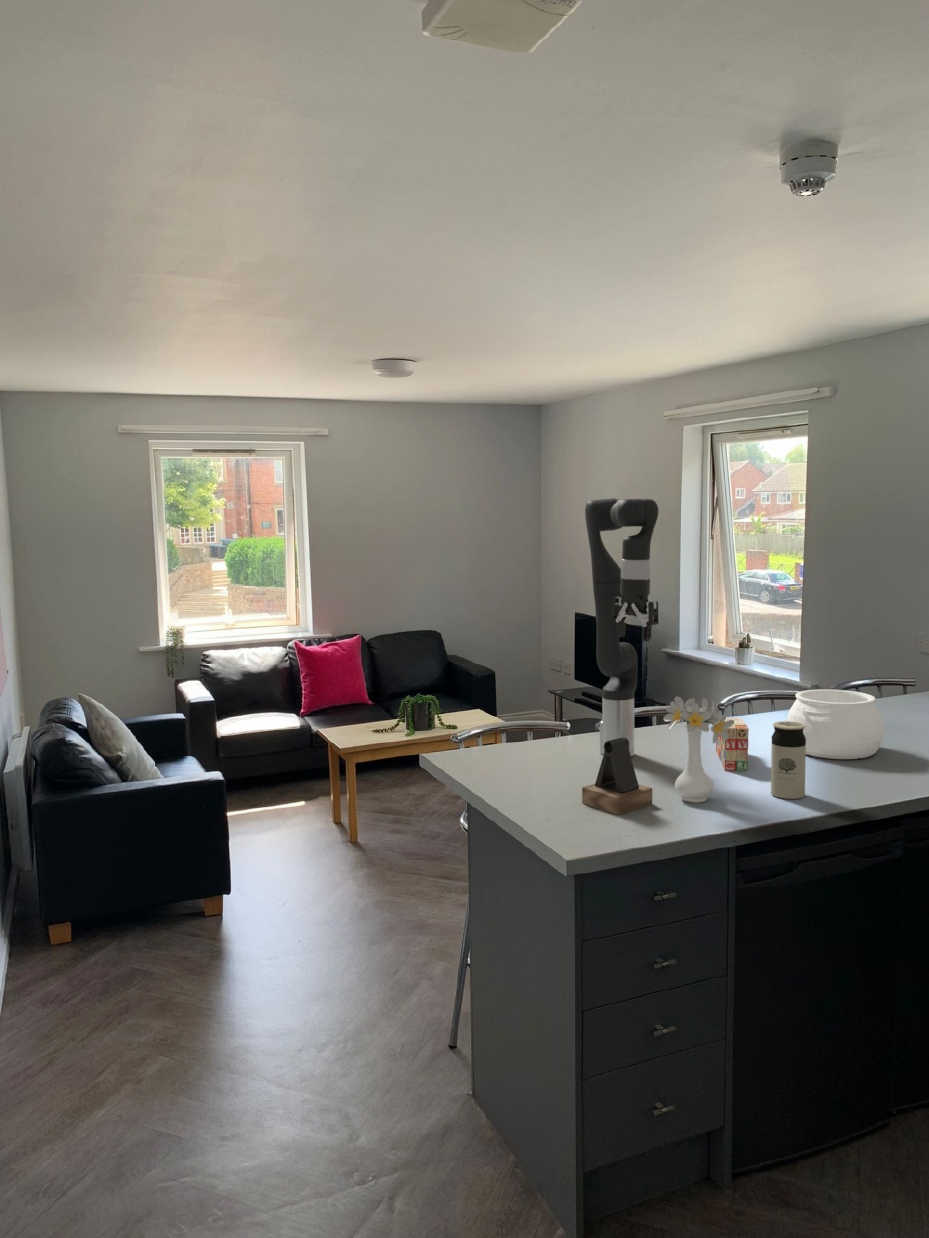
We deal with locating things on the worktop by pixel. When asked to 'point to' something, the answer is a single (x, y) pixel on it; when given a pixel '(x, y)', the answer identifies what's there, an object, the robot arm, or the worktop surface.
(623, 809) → the walnut base
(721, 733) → the flower vase
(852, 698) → the pot
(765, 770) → the worktop surface
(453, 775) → the worktop surface
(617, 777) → the door stopper
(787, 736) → the travel mug
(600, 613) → the robot arm
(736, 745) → the stack of blocks
